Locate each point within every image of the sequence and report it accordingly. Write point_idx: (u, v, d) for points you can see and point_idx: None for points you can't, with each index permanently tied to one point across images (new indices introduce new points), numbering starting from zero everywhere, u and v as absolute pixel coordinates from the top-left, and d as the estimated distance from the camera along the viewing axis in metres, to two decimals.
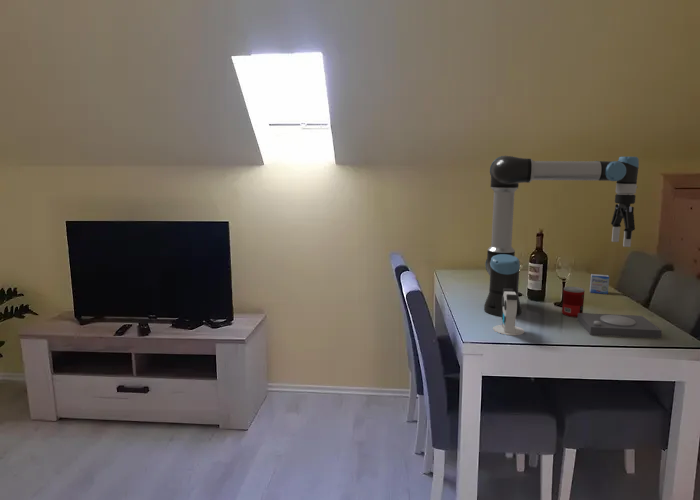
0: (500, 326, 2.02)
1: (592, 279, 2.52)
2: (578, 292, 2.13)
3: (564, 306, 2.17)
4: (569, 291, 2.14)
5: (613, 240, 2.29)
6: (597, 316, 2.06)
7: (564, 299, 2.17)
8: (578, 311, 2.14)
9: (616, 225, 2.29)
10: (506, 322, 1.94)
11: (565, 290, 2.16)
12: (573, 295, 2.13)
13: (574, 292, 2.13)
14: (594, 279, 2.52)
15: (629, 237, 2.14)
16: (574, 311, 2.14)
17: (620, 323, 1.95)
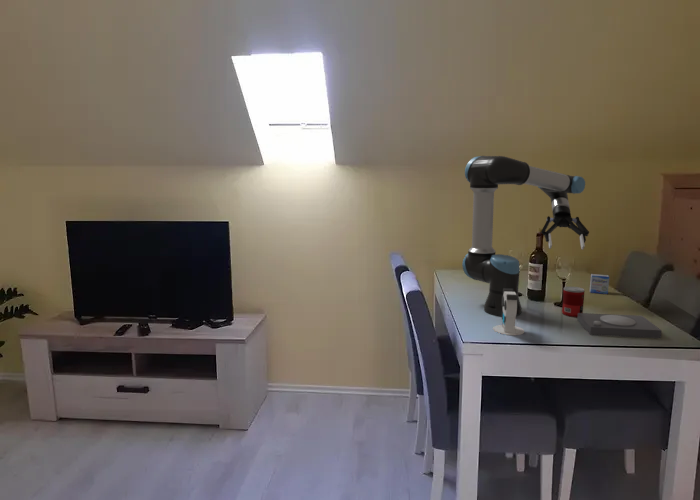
0: (500, 326, 2.02)
1: (592, 279, 2.52)
2: (578, 292, 2.13)
3: (564, 306, 2.17)
4: (569, 291, 2.14)
5: None
6: (597, 316, 2.06)
7: (564, 299, 2.17)
8: (578, 311, 2.14)
9: None
10: (506, 322, 1.94)
11: (565, 290, 2.16)
12: (573, 295, 2.13)
13: (574, 292, 2.13)
14: (594, 279, 2.52)
15: None
16: (574, 311, 2.14)
17: (620, 323, 1.95)
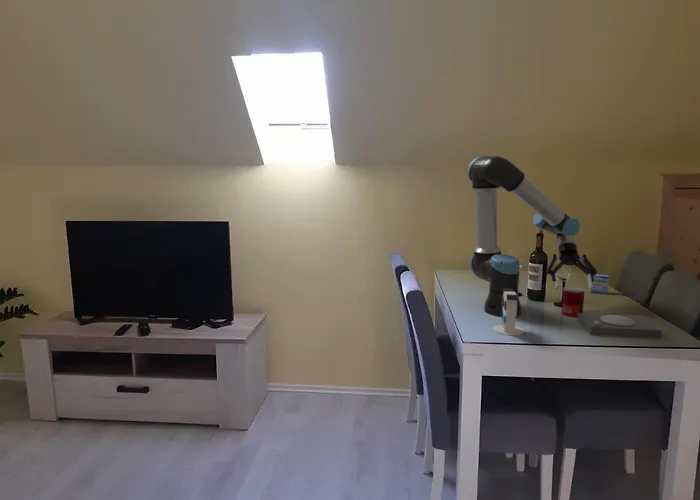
0: (500, 326, 2.02)
1: None
2: (578, 292, 2.13)
3: (564, 306, 2.17)
4: (569, 291, 2.14)
5: None
6: (597, 316, 2.06)
7: (564, 299, 2.17)
8: (578, 311, 2.14)
9: None
10: (506, 322, 1.94)
11: (565, 290, 2.16)
12: (573, 295, 2.13)
13: (574, 292, 2.13)
14: (594, 279, 2.52)
15: None
16: (574, 311, 2.14)
17: (620, 323, 1.95)
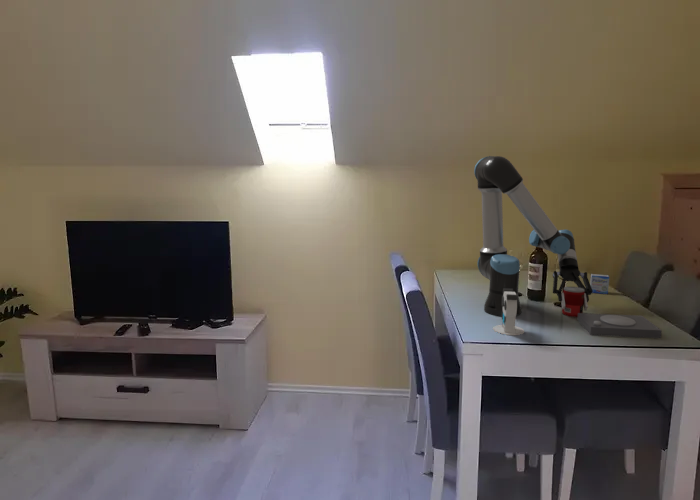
0: (500, 326, 2.02)
1: (592, 279, 2.52)
2: (578, 292, 2.13)
3: None
4: (569, 291, 2.14)
5: None
6: (597, 316, 2.06)
7: None
8: (578, 311, 2.14)
9: None
10: (506, 322, 1.94)
11: (565, 290, 2.16)
12: (573, 295, 2.13)
13: (574, 292, 2.13)
14: (594, 279, 2.52)
15: None
16: (574, 311, 2.14)
17: (620, 323, 1.95)
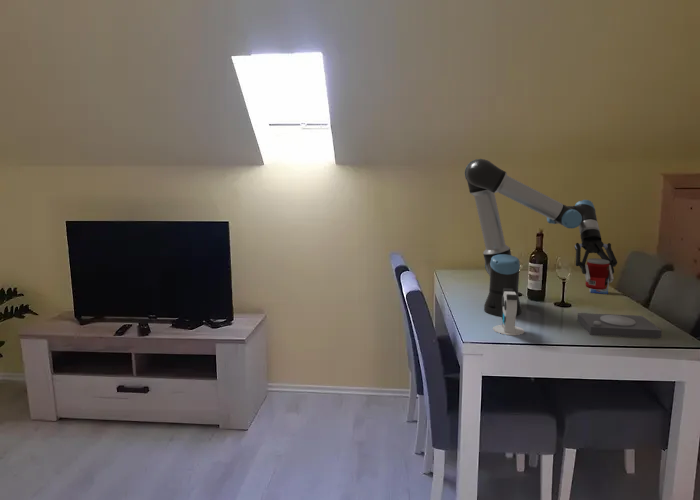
0: (500, 326, 2.02)
1: None
2: (603, 264, 2.04)
3: None
4: (594, 263, 2.06)
5: None
6: (597, 316, 2.06)
7: None
8: (603, 283, 2.06)
9: None
10: (506, 322, 1.94)
11: (589, 262, 2.07)
12: (598, 267, 2.05)
13: (599, 264, 2.05)
14: None
15: None
16: (599, 283, 2.06)
17: (620, 323, 1.95)
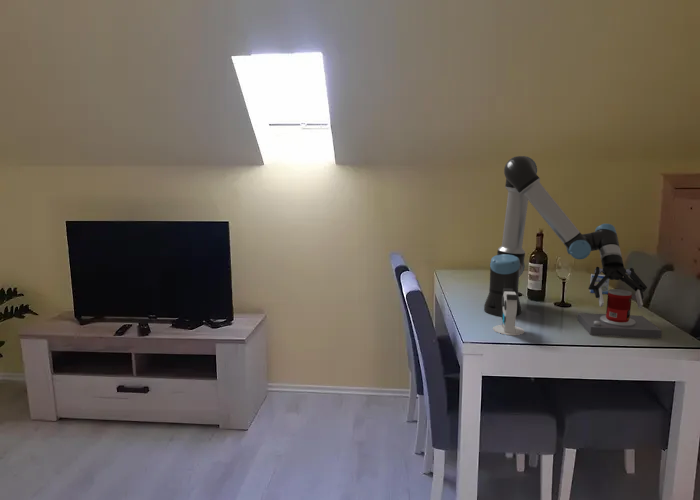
0: (500, 326, 2.02)
1: None
2: (625, 295, 1.94)
3: (609, 310, 1.98)
4: (615, 294, 1.95)
5: None
6: (597, 316, 2.06)
7: (609, 303, 1.98)
8: (625, 316, 1.95)
9: None
10: (506, 322, 1.94)
11: (610, 293, 1.97)
12: (620, 298, 1.94)
13: (621, 295, 1.94)
14: None
15: None
16: (621, 316, 1.95)
17: (620, 323, 1.95)
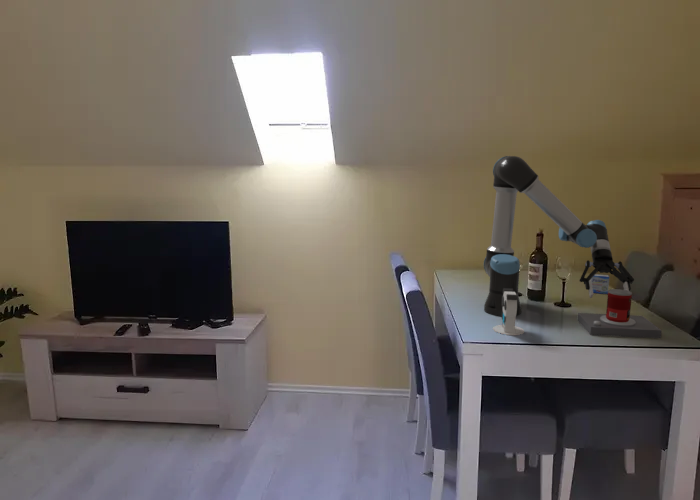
0: (500, 326, 2.02)
1: (592, 279, 2.52)
2: (625, 295, 1.94)
3: (609, 310, 1.98)
4: (615, 294, 1.95)
5: None
6: (597, 316, 2.06)
7: (609, 303, 1.98)
8: (625, 316, 1.95)
9: None
10: (506, 322, 1.94)
11: (610, 293, 1.97)
12: (620, 298, 1.94)
13: (621, 295, 1.94)
14: (594, 279, 2.52)
15: None
16: (621, 316, 1.95)
17: (620, 323, 1.95)
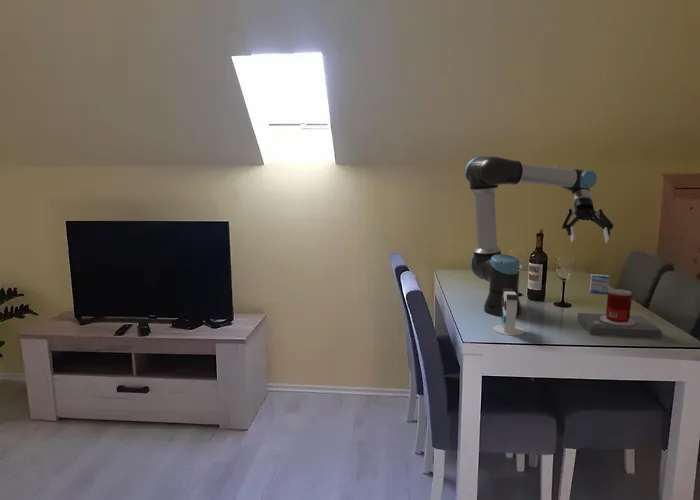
0: (500, 326, 2.02)
1: (592, 279, 2.52)
2: (625, 295, 1.94)
3: (609, 310, 1.98)
4: (615, 294, 1.95)
5: None
6: (597, 316, 2.06)
7: (609, 303, 1.98)
8: (625, 316, 1.95)
9: None
10: (506, 322, 1.94)
11: (610, 293, 1.97)
12: (620, 298, 1.94)
13: (621, 295, 1.94)
14: (594, 279, 2.52)
15: None
16: (621, 316, 1.95)
17: (620, 323, 1.95)
